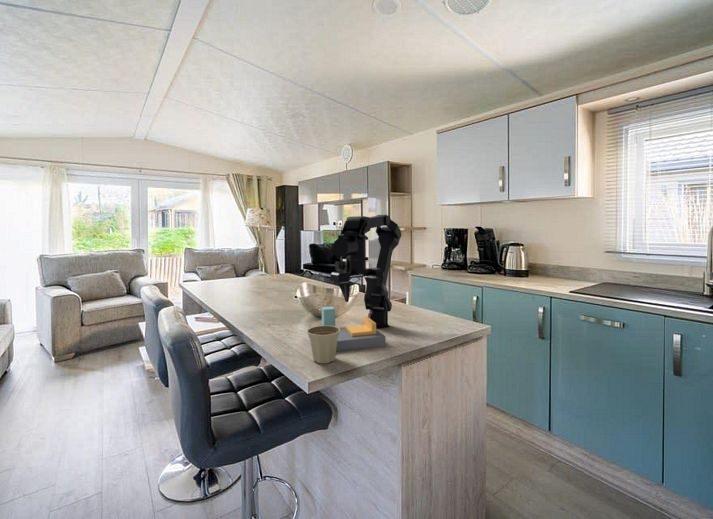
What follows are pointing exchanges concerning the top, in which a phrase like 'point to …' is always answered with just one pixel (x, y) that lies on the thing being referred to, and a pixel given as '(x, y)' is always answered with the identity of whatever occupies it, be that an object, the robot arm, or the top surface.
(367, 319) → the orange block
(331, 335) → the flower pot
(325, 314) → the plug
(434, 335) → the top surface
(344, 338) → the socket plate
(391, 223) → the robot arm
